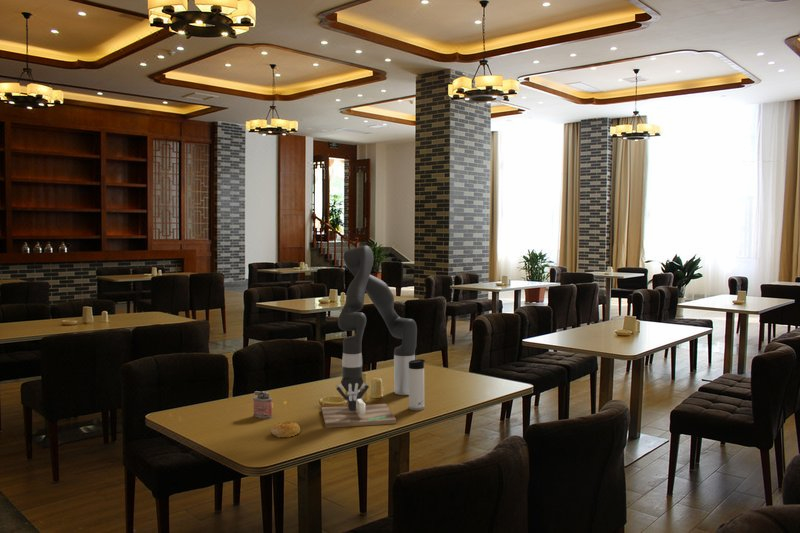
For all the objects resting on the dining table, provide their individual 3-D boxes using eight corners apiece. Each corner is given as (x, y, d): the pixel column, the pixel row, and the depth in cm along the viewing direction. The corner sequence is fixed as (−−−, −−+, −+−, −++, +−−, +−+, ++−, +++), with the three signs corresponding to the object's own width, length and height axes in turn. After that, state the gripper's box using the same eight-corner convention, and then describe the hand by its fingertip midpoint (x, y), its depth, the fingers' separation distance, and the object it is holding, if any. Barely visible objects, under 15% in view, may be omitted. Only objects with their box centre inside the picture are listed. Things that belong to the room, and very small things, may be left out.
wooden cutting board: (321, 411, 261) (321, 407, 261) (385, 407, 266) (385, 403, 266) (326, 427, 239) (325, 423, 239) (396, 423, 244) (396, 419, 243)
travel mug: (423, 411, 260) (423, 361, 259) (407, 410, 261) (407, 360, 260) (426, 406, 266) (426, 358, 265) (410, 406, 268) (410, 357, 267)
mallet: (347, 406, 261) (347, 387, 261) (360, 405, 262) (360, 387, 262) (356, 419, 243) (355, 399, 243) (369, 418, 245) (369, 398, 244)
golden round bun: (307, 432, 233) (307, 419, 233) (283, 441, 225) (283, 427, 225) (289, 428, 240) (288, 415, 240) (265, 435, 231) (264, 422, 231)
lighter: (274, 416, 254) (273, 391, 253) (269, 419, 251) (269, 393, 250) (256, 414, 257) (255, 389, 256) (251, 417, 253) (251, 391, 253)
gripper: (336, 367, 241) (336, 413, 242) (371, 365, 245) (371, 411, 245) (333, 363, 248) (333, 408, 249) (367, 362, 252) (366, 406, 253)
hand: (352, 410), depth 247 cm, fingers closed
